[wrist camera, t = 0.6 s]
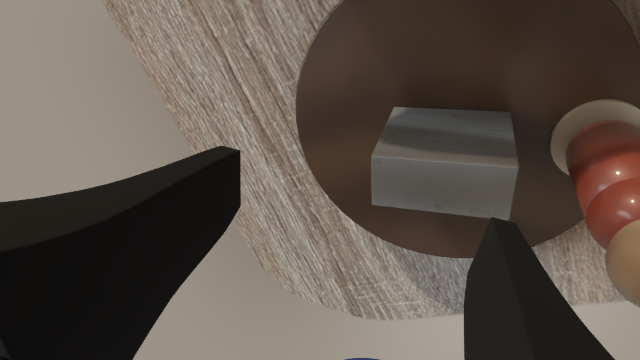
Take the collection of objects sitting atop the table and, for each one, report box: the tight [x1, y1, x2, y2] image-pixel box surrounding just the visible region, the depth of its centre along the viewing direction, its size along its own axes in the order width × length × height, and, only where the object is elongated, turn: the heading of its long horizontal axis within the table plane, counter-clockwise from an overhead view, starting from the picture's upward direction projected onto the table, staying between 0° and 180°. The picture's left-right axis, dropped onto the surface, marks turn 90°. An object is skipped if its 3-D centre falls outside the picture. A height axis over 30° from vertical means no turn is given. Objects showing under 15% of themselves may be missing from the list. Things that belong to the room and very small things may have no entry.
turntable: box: [296, 0, 640, 307], centre depth 16 cm, size 15×15×10 cm
